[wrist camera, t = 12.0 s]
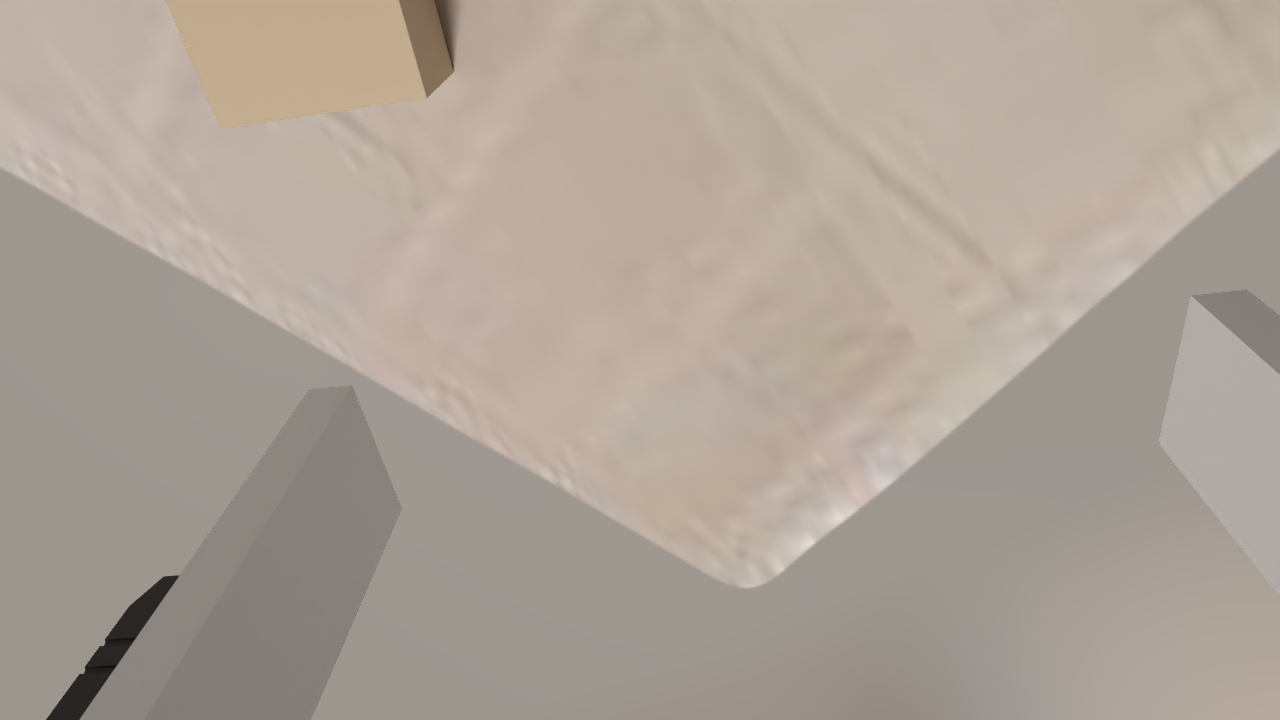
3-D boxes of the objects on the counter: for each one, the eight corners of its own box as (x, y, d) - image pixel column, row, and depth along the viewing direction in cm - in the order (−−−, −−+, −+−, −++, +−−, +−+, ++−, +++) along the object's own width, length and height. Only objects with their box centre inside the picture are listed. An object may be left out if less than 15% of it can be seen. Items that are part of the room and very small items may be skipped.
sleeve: (414, -78, 34) (377, -67, 30) (453, 72, 37) (425, 99, 33) (211, -42, 35) (150, -27, 31) (266, 100, 38) (217, 130, 34)
